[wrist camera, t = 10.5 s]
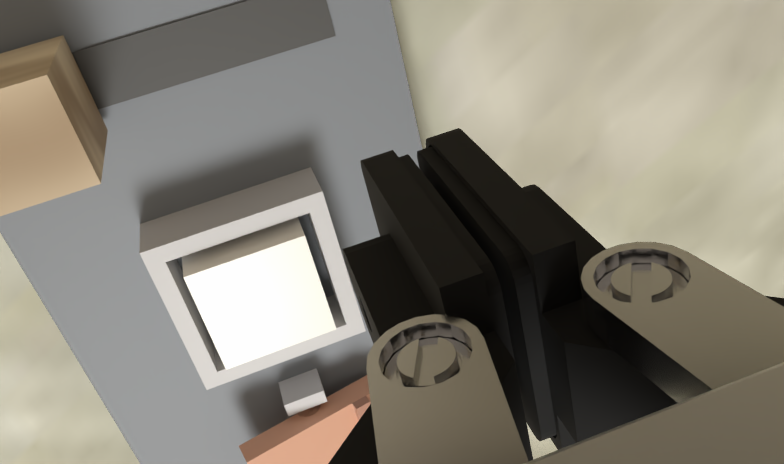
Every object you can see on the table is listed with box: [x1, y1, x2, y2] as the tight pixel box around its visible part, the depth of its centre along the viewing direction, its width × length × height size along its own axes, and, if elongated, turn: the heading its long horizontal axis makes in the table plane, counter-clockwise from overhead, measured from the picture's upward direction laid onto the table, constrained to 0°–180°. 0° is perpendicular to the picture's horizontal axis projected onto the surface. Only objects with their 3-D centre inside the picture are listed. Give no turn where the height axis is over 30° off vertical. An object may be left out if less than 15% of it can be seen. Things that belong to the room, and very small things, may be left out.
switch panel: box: [0, 0, 422, 464], centre depth 26 cm, size 24×14×4 cm, turn 13°
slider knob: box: [0, 35, 108, 216], centre depth 19 cm, size 3×3×4 cm
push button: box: [182, 217, 336, 370], centre depth 25 cm, size 4×4×2 cm
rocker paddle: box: [239, 375, 371, 464], centre depth 29 cm, size 3×6×2 cm, turn 103°
